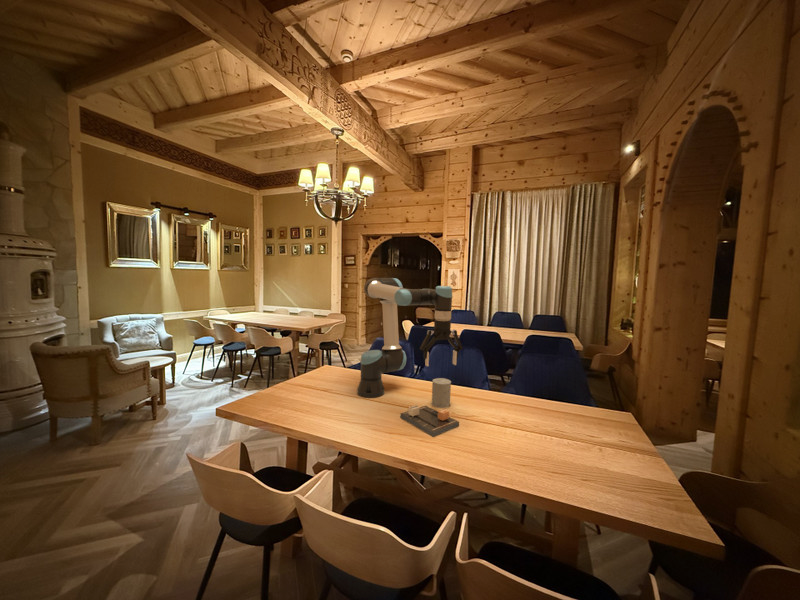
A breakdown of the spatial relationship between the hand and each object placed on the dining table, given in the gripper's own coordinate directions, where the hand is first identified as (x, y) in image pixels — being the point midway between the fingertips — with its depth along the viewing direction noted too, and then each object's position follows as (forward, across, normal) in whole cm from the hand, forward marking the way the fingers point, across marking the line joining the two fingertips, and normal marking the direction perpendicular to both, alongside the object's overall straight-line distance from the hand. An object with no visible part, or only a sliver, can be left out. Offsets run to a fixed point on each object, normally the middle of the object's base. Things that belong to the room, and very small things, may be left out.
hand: (440, 364), depth 150 cm
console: (+25, -6, -4) cm, 26 cm away
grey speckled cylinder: (+26, +6, +14) cm, 30 cm away
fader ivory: (+23, -12, 0) cm, 26 cm away
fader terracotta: (+22, 0, -7) cm, 24 cm away
